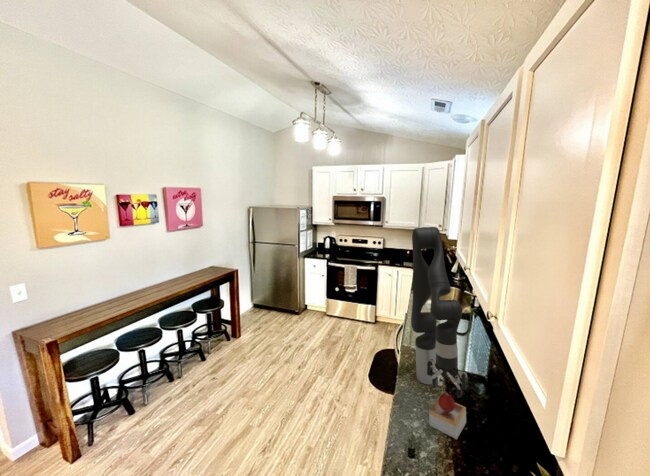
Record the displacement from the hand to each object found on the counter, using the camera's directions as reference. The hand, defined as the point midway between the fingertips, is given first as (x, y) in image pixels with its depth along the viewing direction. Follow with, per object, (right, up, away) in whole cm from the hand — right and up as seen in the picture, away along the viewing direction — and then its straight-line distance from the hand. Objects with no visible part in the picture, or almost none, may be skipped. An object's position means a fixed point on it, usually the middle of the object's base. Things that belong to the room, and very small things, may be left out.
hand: (446, 391), depth 104 cm
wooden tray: (+2, -13, +2) cm, 14 cm away
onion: (0, -9, +1) cm, 9 cm away
